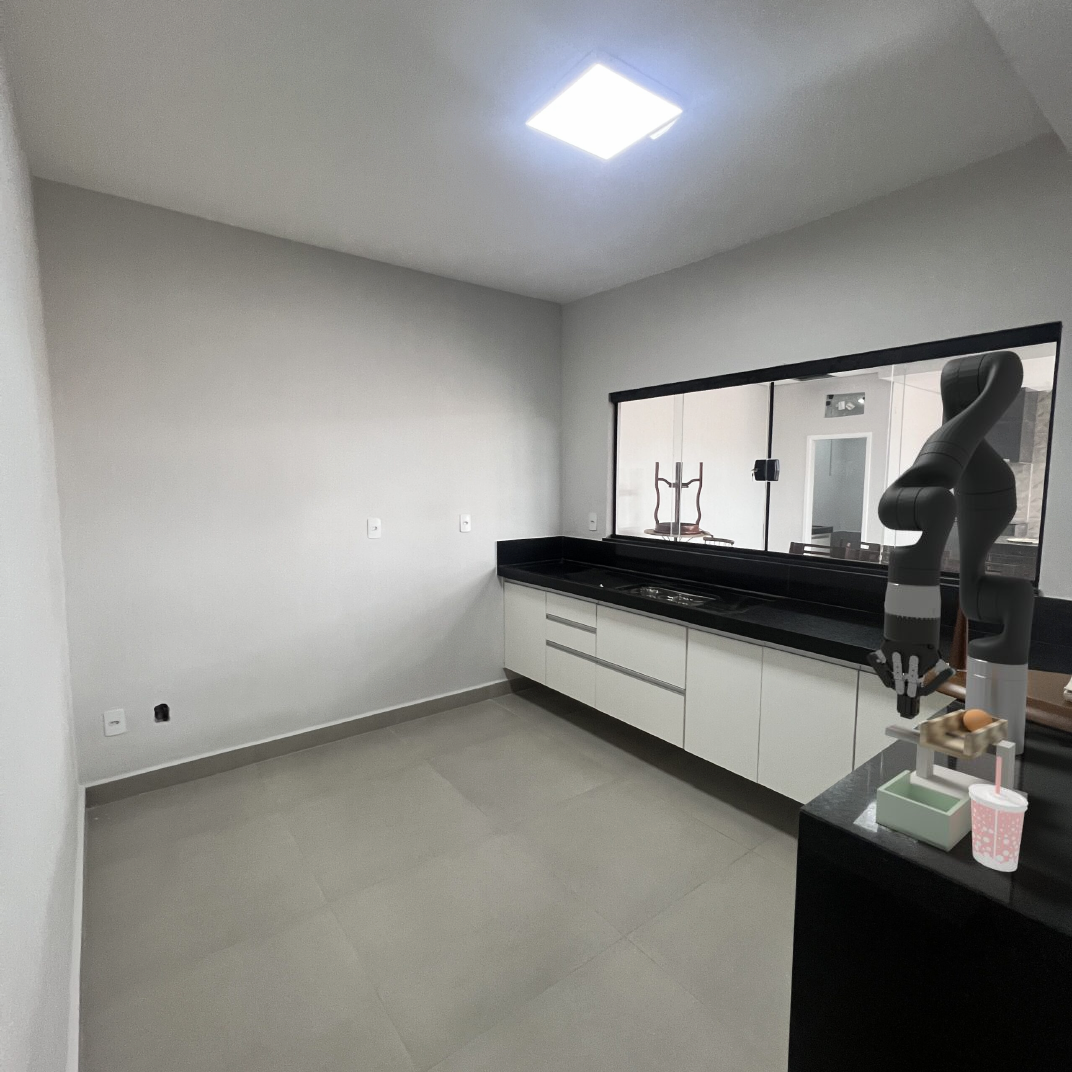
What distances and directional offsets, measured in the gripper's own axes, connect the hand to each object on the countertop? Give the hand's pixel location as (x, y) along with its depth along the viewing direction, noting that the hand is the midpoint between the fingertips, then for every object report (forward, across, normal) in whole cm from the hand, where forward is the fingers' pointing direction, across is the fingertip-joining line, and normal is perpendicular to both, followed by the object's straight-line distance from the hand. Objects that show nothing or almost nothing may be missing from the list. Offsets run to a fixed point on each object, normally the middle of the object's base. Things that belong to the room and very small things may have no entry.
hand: (907, 717), depth 95 cm
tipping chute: (+5, -4, -7) cm, 10 cm away
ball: (+2, -6, -14) cm, 15 cm away
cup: (+12, -6, +8) cm, 16 cm away
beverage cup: (+13, -15, +11) cm, 22 cm away
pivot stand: (+12, -6, -7) cm, 15 cm away
